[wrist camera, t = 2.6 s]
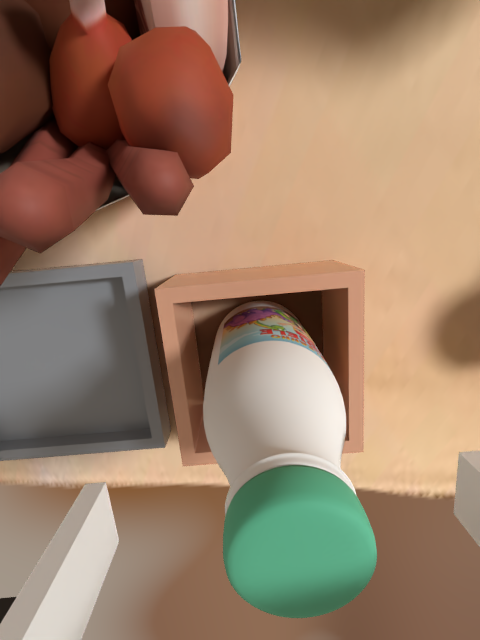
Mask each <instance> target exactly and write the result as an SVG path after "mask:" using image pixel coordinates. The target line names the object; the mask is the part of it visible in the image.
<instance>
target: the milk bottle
mask: <svg viewBox="0 0 480 640" xmlns="http://www.w3.org/2000/svg"><path fill="white" fill-rule="evenodd" d="M203 420H204V428H205V433H206V437H207V441H208V444H209V447H210V449H211V452H212V454H213V456H214V458H215V459H216V461H217V463H218V465H219V466H220V468H221V469H222V471H223V472H224V474H225V475H226V477H227V479H228V481H229V484H230V489H229V492H228V494H227V498H226V503H225V523H224V534H223V558H224V564H225V568H226V573H227V576H228V579H229V581H230V583H231V585H232V586H233V588H234V589H235V591H236V592H237V593H238V594H239V595H240V596H241V597H242V598H243V599H244V600H246V601H247V602H248V603H250V604H251V605H252V606H254V607H256V608H258V609H260V610H262V611H264V612H267V613H270V614H273V615H277V616H282V617H289V618H307V617H313V616H319V615H323V614H326V613H329V612H332V611H334V610H336V609H339V608H341V607H343V606H344V605H346V604H347V603H349V602H350V601H351V600H353V599H354V598H355V597H356V596H357V595H359V593H360V592H361V591H362V590H363V589H364V588H365V587H366V585H367V584H368V582H369V581H370V579H371V577H372V575H373V573H374V570H375V566H376V560H377V550H376V543H375V537H374V534H373V530H372V528H371V526H370V523H369V520H368V518H367V516H366V513H365V511H364V509H363V507H362V505H361V503H360V501H359V499H358V497H357V496H356V492H355V489H354V487H353V485H352V483H351V481H350V479H349V478H348V477H347V475H346V474H345V473H344V472H343V471H342V470H341V456H342V451H343V447H344V442H345V435H346V412H345V406H344V401H343V397H342V394H341V391H340V388H339V385H338V383H337V381H336V379H335V377H334V375H333V373H332V371H331V370H330V368H329V366H328V364H327V362H326V361H325V359H324V358H323V356H322V355H321V353H320V351H319V350H318V348H317V347H316V345H315V344H314V342H313V341H312V339H311V337H310V336H309V334H308V333H307V331H306V330H305V329H304V327H303V326H302V324H301V323H300V321H299V320H298V319H297V317H296V316H295V315H294V314H293V313H292V312H291V311H290V310H288V309H287V308H285V307H284V306H282V305H280V304H277V303H274V302H270V301H252V302H248V303H245V304H242V305H240V306H238V307H236V308H235V309H233V310H232V311H231V312H230V313H229V314H228V315H227V316H226V317H225V318H224V319H223V321H222V323H221V324H220V326H219V329H218V331H217V334H216V338H215V342H214V347H213V351H212V356H211V360H210V365H209V370H208V375H207V380H206V386H205V394H204V402H203Z"/></svg>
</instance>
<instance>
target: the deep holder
mask: <svg viewBox="0 0 480 640" xmlns="http://www.w3.org/2000/svg"><path fill="white" fill-rule="evenodd" d="M364 285H365V270H363V269H360V268H357V267H354V266H350V265H347V264H344V263H341V262H337V261H334V260H329V261H319V262H308V263H297V264H286V265H275V266H264V267H254V268H243V269H232V270H221V271H210V272H199V273H189V274H178V275H174V276H173V277H171V278H170V279H168V280H167V281H166V282H164V283H163V284H161V285H160V286H158V287H157V288H155V289H154V290H155V296H156V303H157V309H158V315H159V321H160V327H161V334H162V340H163V346H164V352H165V358H166V365H167V371H168V377H169V383H170V389H171V396H172V402H173V408H174V414H175V420H176V427H177V433H178V439H179V445H180V451H181V458H182V464H183V466H193V465H206V464H218V463H217V461H216V459H215V458H214V456H213V454H212V452H211V449H210V447H209V444H208V441H207V437H206V433H205V428H204V420H203V402H204V394H203V387H202V379H201V372H200V364H199V357H198V349H197V342H196V334H195V327H194V319H193V312H192V304H191V302H194V301H205V300H216V299H227V298H238V297H249V296H260V295H271V294H282V293H293V292H304V291H315V290H322V321H323V358H324V359H325V361H326V362H327V364H328V366H329V368H330V370H331V371H332V373H333V375H334V377H335V379H336V381H337V383H338V385H339V388H340V391H341V394H342V397H343V401H344V406H345V412H346V435H345V442H344V447H343V451H342V454H343V453H356V452H363V425H364Z"/></svg>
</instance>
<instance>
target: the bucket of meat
mask: <svg viewBox="0 0 480 640" xmlns="http://www.w3.org/2000/svg"><path fill="white" fill-rule="evenodd" d="M240 63H241V52H240V43H239V33H238V23H237V14H236V4H235V0H0V286H1V285H2V283H3V282H4V280H5V279H6V277H7V276H8V274H9V273H10V271H11V270H12V268H13V267H14V265H15V264H16V262H17V261H18V260H19V258H20V257H21V255H22V254H23V252H24V251H25V249H26V248H29V249H31V250H34V251H36V252H38V253H42V252H43V251H45V250H46V249H48V248H49V247H51V246H52V245H54V244H55V243H56V242H58V241H59V240H61V239H62V238H64V237H65V236H67V235H68V234H70V233H71V232H73V231H74V230H75V229H76V228H77V227H79V226H80V225H81V224H82V223H83V222H84V221H85V220H86V219H87V218H88V217H89V216H90V215H92V214H93V213H94V212H95V211H97V210H99V209H101V208H104V207H106V206H108V205H110V204H113V203H115V202H117V201H119V200H122V199H124V198H126V197H128V196H130V197H131V198H132V200H133V201H134V202H135V204H136V205H137V206H138V208H139V209H140V210H141V212H142V213H143V214H147V215H178V213H179V212H180V210H181V208H182V206H183V204H184V203H185V201H186V199H187V197H188V196H189V194H190V192H191V190H192V189H193V187H194V185H193V183H192V181H191V179H190V178H195V179H199V178H201V177H202V176H204V175H206V174H207V173H209V172H210V171H211V170H212V169H213V168H214V167H215V166H216V165H218V164H219V163H220V162H221V161H222V160H223V159H224V158H225V157H226V156H227V155H229V154H230V153H231V134H232V112H233V93H232V91H231V89H230V85H231V83H232V81H233V79H234V77H235V75H236V73H237V71H238V69H239V66H240Z"/></svg>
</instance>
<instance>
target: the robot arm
mask: <svg viewBox="0 0 480 640" xmlns="http://www.w3.org/2000/svg"><path fill="white" fill-rule="evenodd" d="M454 515H455V516H456V517H457V518H458V520H459V521H460V522H461V524H462V525H463V526H464V527H465V529H466V530H467V531H468V532H469V534H470V535H471V536H472V538H473V539H474V540H475V542H476V543H477V544H478V545H479V547H480V451H469V452H459V458H458V470H457V481H456V493H455V505H454ZM118 543H119V538H118V534H117V529H116V525H115V521H114V516H113V512H112V508H111V504H110V499H109V494H108V491H107V486H106V482H103V483H91V484H85V485H84V487H83V489H82V490H81V492H80V494H79V495H78V497H77V499H76V500H75V502H74V504H73V506H72V507H71V508H70V510H69V512H68V513H67V515H66V517H65V519H64V520H63V522H62V523H61V525H60V527H59V528H58V530H57V531H56V533H55V535H54V537H53V538H52V540H51V541H50V543H49V545H48V546H47V548H46V550H45V551H44V553H43V554H42V556H41V558H40V559H39V561H38V563H37V564H36V566H35V568H34V569H33V571H32V573H31V574H30V576H29V577H28V579H27V581H26V583H25V584H24V586H23V587H22V589H21V591H20V592H19V594H18V596H17V597H11V598H1V599H0V640H81V639H82V636H83V634H84V631H85V629H86V626H87V623H88V621H89V618H90V616H91V613H92V610H93V608H94V605H95V603H96V600H97V597H98V595H99V592H100V590H101V587H102V584H103V582H104V579H105V577H106V574H107V571H108V569H109V566H110V564H111V561H112V558H113V556H114V553H115V551H116V548H117V545H118Z"/></svg>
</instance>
